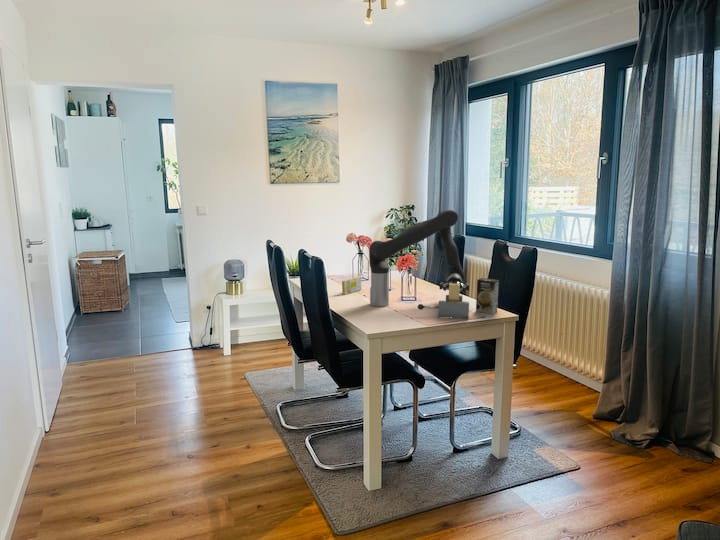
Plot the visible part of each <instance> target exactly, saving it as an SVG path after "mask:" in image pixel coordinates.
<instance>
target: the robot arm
mask: <svg viewBox="0 0 720 540" xmlns="http://www.w3.org/2000/svg"><path fill="white" fill-rule="evenodd" d="M458 220H459V215H458V212H457V211H455V210H454V209H445V210H442V211H440V212H438V213H437V215H436V216H435V217H433V218H430V219H426V220H423V221H420V222H418V223H416V224H413V225H411V226H409V227H406V228H405V229H403V231H401V232H400V233H399V235H398V236H396V237H394V238H391V239H389V240H386V241H382V240H374V241H373V242H371V244H370V246H369V250H368V251H369V252H368V253H369V254H368V257H369V259H368V260H369V267H370V288H369V302H370V304H369V306H371V307H372V306H374V307H387V306H390V305H389V304H390V303H389V302H390V300H389V299H390V297H389V296H390V295H389V294H390V290H389V289H390V285H389V284H390V266H388V263H387V259H389V258H391V257H392V256H394V255H395V254H397V253H398V252H400V251H402V250H405V249H407V248H409V247H411V246H414V245H416V244H418V243H419V242H423V241H424V240H426V239H427V238H429V237H431V236H433V235H434V234H436V233H437V232H439V234H440V237H441V241H442V244H443V250H444V256H445V263H446V264H445V265H446V266H447V267H453V268H456V270H449V271H448V270H447V272H445V275H444V279H445V282H446V283H444V282H443V281H441V282H440V283H439V286H438V287H439V290H443V291H444V292H447V291H449V283H459V284H460V291H462V293H463V292H465V291H470V283H469V282H466V283H465V284H464V282H465V281H466V274H465V271H464V270H463V268H462V265H461V262H460V255H459V251H458V247H457V244H456V243H455V240H454V238H453V236H452V231H451V228H452V227H454V226H455V225H456V223H457V222H458Z"/></svg>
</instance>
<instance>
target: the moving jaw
mask: <svg viewBox="0 0 720 540" xmlns="http://www.w3.org/2000/svg"><path fill="white" fill-rule="evenodd" d="M445 301H449V294H445ZM459 301H461V302H463V295H460V296H459Z"/></svg>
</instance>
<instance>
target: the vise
mask: <svg viewBox="0 0 720 540" xmlns="http://www.w3.org/2000/svg"><path fill="white" fill-rule="evenodd" d="M417 309H418V310H424V309H433V310H438V314H437V315H438V317H449V318H448V319H458V318H463V319H462V320H470V319H469V316H470V302H469V301H462V302H461V301H446V300H438V305H424V304H422V303H419V304H418V305H417ZM438 317H437V318H438ZM450 317H452V318H450Z"/></svg>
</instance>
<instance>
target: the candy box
mask: <svg viewBox="0 0 720 540" xmlns="http://www.w3.org/2000/svg"><path fill="white" fill-rule="evenodd" d="M341 286H342V287H341V289H342V291H341V292H342V294H341V295H342V296H347V295H350V294H354V293H357V291H358V292H361V291H362V276H356V277H352V278H349V279H344V280H342V281H341ZM360 290H361V291H360Z"/></svg>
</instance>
